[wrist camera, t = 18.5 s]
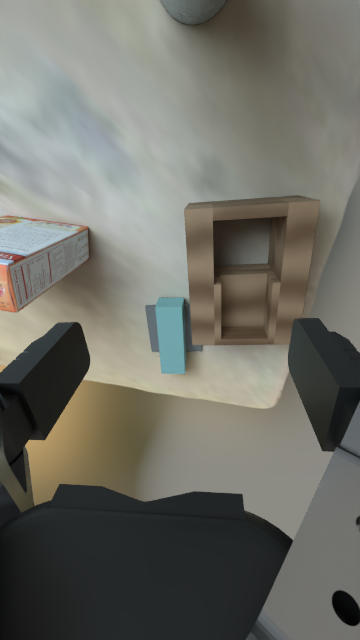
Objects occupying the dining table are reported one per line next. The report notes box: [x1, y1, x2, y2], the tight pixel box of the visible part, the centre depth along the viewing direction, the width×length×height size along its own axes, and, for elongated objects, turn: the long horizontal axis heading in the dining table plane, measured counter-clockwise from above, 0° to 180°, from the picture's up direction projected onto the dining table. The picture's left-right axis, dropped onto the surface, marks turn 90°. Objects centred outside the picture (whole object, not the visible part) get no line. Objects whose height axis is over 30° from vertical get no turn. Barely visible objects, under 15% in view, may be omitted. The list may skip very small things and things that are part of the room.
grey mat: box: [146, 304, 202, 352], centre depth 52 cm, size 10×10×1 cm
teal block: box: [155, 298, 186, 374], centre depth 50 cm, size 14×4×4 cm, turn 3°
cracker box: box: [0, 216, 89, 312], centre depth 37 cm, size 14×6×21 cm, turn 83°
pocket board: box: [184, 196, 320, 345], centre depth 41 cm, size 20×16×9 cm
